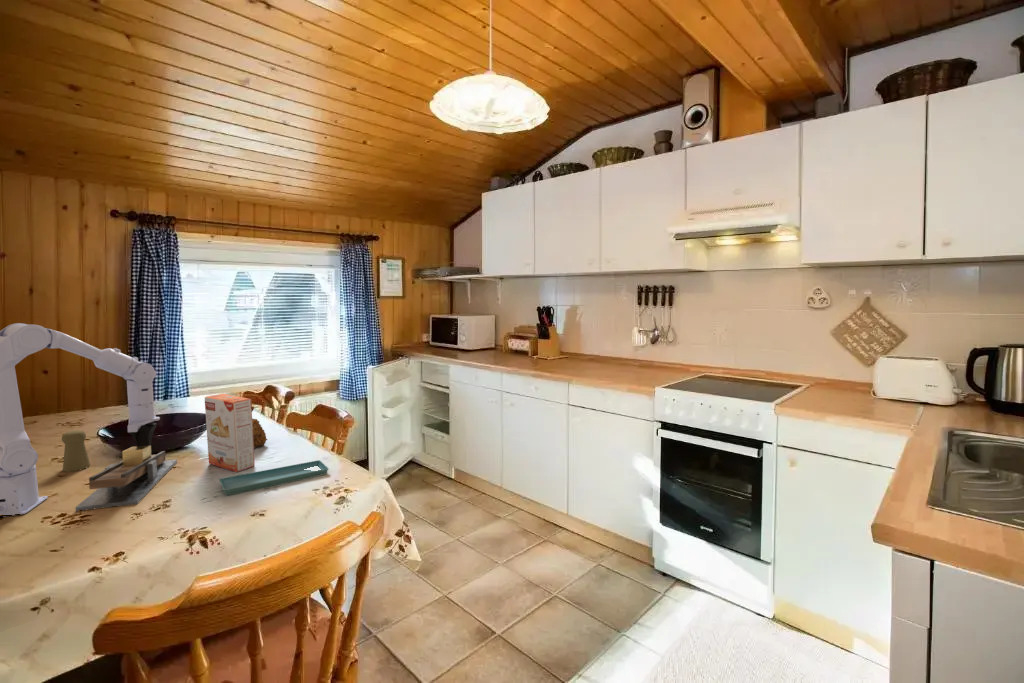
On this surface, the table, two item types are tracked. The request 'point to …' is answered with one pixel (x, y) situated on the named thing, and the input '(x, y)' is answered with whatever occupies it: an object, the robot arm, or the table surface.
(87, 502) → the pivot stand
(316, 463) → the rectangular tray
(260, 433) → the stuffed squirrel
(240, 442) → the cracker box
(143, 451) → the brass block
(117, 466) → the walnut beam
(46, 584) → the table surface
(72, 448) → the olive green shaker
